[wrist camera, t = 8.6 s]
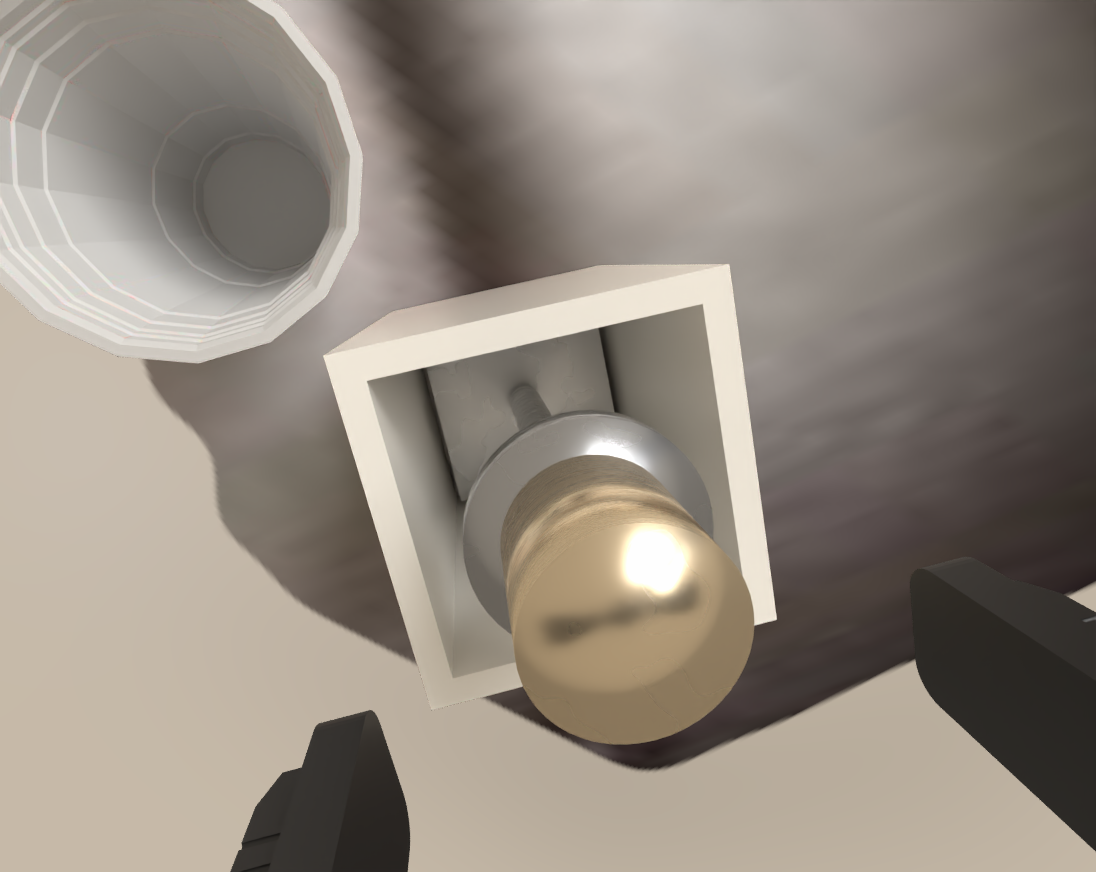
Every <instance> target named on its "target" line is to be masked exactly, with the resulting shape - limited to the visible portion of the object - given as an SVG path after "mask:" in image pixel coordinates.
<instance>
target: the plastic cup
mask: <svg viewBox="0 0 1096 872" xmlns="http://www.w3.org/2000/svg"><path fill="white" fill-rule="evenodd" d="M362 163H363V154H362V151H361V148H360V145H359V142H358V139H357V136H356V133H355V130H354V127H353V124H352V121H351V118H350V115H349V112H348V109H347V106H346V103H345V100H344V97H343V93H342V90H341V87H340V84H339V81H338V78H337V76H336V75H335V74H334V72H333V71H332V70H331V69H330V67H329V66H328V65H327V63H326V62H325V61H324V60H323V58H322V57H321V56H320V55H319V53H318V52H317V51H316V49H315V48H314V47H313V46H312V44H311V43H310V42H309V41H308V39H307V38H306V37H305V35H304V34H303V33H302V32H301V30H300V29H299V28H298V27H297V25H296V24H295V23H294V21H293V20H292V19H291V18H290V16H289V15H288V14H287V12H286V11H285V10H284V9H283V7H281V6H280V5H278V4H277V3H275V2H274V1H272V0H0V284H1V285H2V286H3V287H4V288H5V289H6V290H7V291H8V292H9V293H10V294H11V295H13V296H14V298H16V299H17V300H18V301H19V302H20V303H21V304H22V305H23V306H24V307H25V308H26V309H27V310H28V311H29V312H30V313H31V314H32V315H33V316H35V318H37V319H38V320H39V321H41V322H43V323H45V324H48V325H50V326H52V327H54V328H56V329H58V330H61V331H63V332H65V333H67V334H69V335H72V336H74V337H76V338H78V339H80V340H82V341H85V342H87V343H89V344H91V345H94V346H96V347H98V348H100V349H102V350H104V351H107V352H109V353H111V354H113V355H115V356H119V357H130V358H141V359H152V360H164V361H175V362H187V363H202V362H205V361H209V360H212V359H215V358H219V357H222V356H226V355H229V354H233V353H236V352H239V351H243V350H246V349H250V348H253V347H256V346H260V345H263V344H267V343H270V342H272V341H273V340H274V339H275V338H277V337H278V336H279V335H280V334H282V333H283V332H284V331H285V330H286V329H288V328H289V327H290V326H291V325H292V324H294V323H295V322H296V321H297V320H299V319H300V318H301V317H302V316H303V315H305V314H306V313H307V312H308V311H309V310H311V309H312V308H313V307H314V306H316V305H317V304H318V303H319V302H320V301H322V300H323V299H324V298H325V297H326V296H327V294H328V292H329V290H330V288H331V286H332V284H333V282H334V280H335V278H336V276H337V274H338V272H339V270H340V268H341V266H342V264H343V262H344V260H345V258H346V256H347V254H348V252H349V250H350V248H351V246H352V244H353V242H354V240H355V238H356V236H357V234H358V232H359V216H360V199H361V181H362Z"/></svg>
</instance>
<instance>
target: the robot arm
mask: <svg viewBox="0 0 1096 872" xmlns="http://www.w3.org/2000/svg"><path fill="white" fill-rule="evenodd" d="M910 593H911V607H912V620H913V634H914V648H915V660H916V665H917V669H918V672H919V675H920V678H921V680H922V682H923V684H924V686H925V688H926V689H927V691H928V693H929V694H930V696H931V697H932V698H933V699H934V701H935V702H936V703H937V704H938V705H939V706H940V707H941V708H942V709H943V710H944V711H945V712H946V713H947V714H948V715H949V716H950V717H952V718H953V719H954V720H955V721H956V722H957V723H958V724H959V725H960V726H962V728H964V729H965V730H966V731H967V732H968V733H969V734H970V735H971V736H972V737H973V738H974V739H975V740H976V741H977V742H979V743H980V744H981V745H982V746H983V747H984V748H985V749H986V750H987V751H988V752H989V753H990V754H991V755H992V756H994V757H995V758H996V759H997V760H998V761H999V762H1000V763H1001V764H1002V765H1003V766H1004V767H1005V768H1007V769H1008V770H1009V771H1010V772H1011V773H1012V774H1013V775H1014V776H1015V777H1016V778H1017V779H1018V780H1019V781H1020V782H1022V783H1023V784H1024V785H1025V786H1026V787H1027V788H1028V789H1029V790H1030V791H1031V792H1032V793H1033V794H1034V795H1036V796H1037V797H1038V798H1039V799H1040V800H1041V801H1042V802H1043V803H1044V804H1045V805H1046V806H1047V807H1049V808H1050V809H1051V810H1052V811H1053V812H1054V813H1055V814H1056V815H1057V816H1058V817H1059V818H1060V819H1061V820H1062V821H1064V822H1065V823H1066V824H1067V825H1068V826H1069V827H1070V828H1071V829H1072V830H1073V831H1074V832H1075V833H1076V834H1078V835H1079V836H1080V837H1081V838H1082V839H1083V840H1084V841H1085V842H1086V843H1087V844H1088V845H1089V846H1090V847H1092V848H1093V849H1094V850H1095V851H1096V612H1094V611H1092V610H1090V609H1089V608H1086V607H1085V606H1083V605H1081V604H1079V603H1077V602H1076V601H1074V600H1072V599H1070V598H1069V597H1067V596H1065V595H1063V594H1061V593H1058V592H1054V591H1051V590H1048V589H1044V588H1041V587H1038V586H1035V585H1031V584H1028V583H1025V582H1021V581H1018V580H1017V581H1013V580H1011V579H1009V578H1007V577H1006V576H1004V575H1002V574H1000V573H999V572H997V571H995V570H994V569H992V568H990V567H988V566H987V565H985V564H983V563H981V562H980V561H978V560H976V559H974V558H971V557H963V558H959V559H955V560H951V561H947V562H943V563H939V564H936V565H932V566H928V567H924V568H920V569H917V570H915V571H914V572H913V574H912V576H911V579H910ZM409 851H410V827H409V818H408V812H407V806H406V802H405V798H404V794H403V791H402V788H401V785H400V782H399V779H398V776H397V773H396V770H395V767H394V764H393V761H392V758H391V755H390V752H389V749H388V746H387V743H386V740H385V737H384V734H383V731H382V728H381V725H380V723H379V720H378V718H377V716H376V714H375V713H374V712H373V711H372V710H369V711H365V712H362V713H358V714H354V715H350V716H346V717H342V718H338V719H335V720H331V721H327V722H323V723H319V724H318V725H317V726H316V727H315V729H314V732H313V735H312V738H311V741H310V744H309V747H308V750H307V753H306V756H305V759H304V763H303V765H302V768H298V769H295V770H291V771H287V772H284V773H282V774H281V775H280V777H279V778H278V779H277V780H276V782H275V783H274V784H273V785H272V787H271V788H270V789H269V791H268V792H267V793H266V794H265V796H264V797H263V798H262V799H261V801H260V802H259V803H258V804H257V806H256V807H255V810H254V812H253V815H252V817H251V820H250V823H249V825H248V828H247V831H246V833H245V835H244V838H243V841H242V850H239V851H238V854H237V856H236V859H235V861H234V864H233V866H232V869H231V872H408V862H409Z"/></svg>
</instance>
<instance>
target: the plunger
mask: <svg viewBox="0 0 1096 872" xmlns="http://www.w3.org/2000/svg"><path fill="white" fill-rule="evenodd" d="M426 369H427V373H428V377H429V381H430V384H431V388H432V392H433V396H434V400H435V403H436V407H437V411H438V415H439V419H440V422H441V426H442V430H443V434H444V437H445V441H446V445H447V449H448V453H449V456H450V460H451V464H452V468H453V472H454V475H455V479H456V483H457V487H458V491H459V494H460V498H461V501H464V500H467V504H466V508H465V512H464V522H463V551H464V561H465V566H466V571H467V575H468V578H469V581H470V584H471V586H472V589H473V591H474V593H475V594H476V596H477V598H478V600H479V602H480V603H481V605H482V606H483V607H484V609H485V610H486V612H487V613H488V614H489V615H490V616H491V617H492V618H493V619H494V620H495V622H496V623H497V624H498V625H500V626H501V627H502V628H503V629H505V630H506V631H507V632H508V633H510V634H511V635H512V640H513V648H514V655H515V661H516V667H517V671H518V674H519V677H520V680H521V683H522V685H523V687H524V689H525V691H526V693H527V695H528V697H529V698H530V699H531V701H532V702H533V703H534V705H535V706H536V708H537V709H538V710H539V711H540V712H541V713H542V714H543V715H544V716H545V717H546V718H548V719H549V720H550V721H552V722H553V723H554V724H555V725H557V726H558V727H560V728H562V729H564V730H565V731H567V732H569V733H571V734H573V735H576V736H578V737H581V738H583V739H587V740H591V741H595V742H600V743H607V744H636V743H644V742H649V741H653V740H658V739H661V738H664V737H667V736H670V735H672V734H674V733H677V732H679V731H681V730H683V729H685V728H687V727H689V726H690V725H692V724H694V723H695V722H697V721H699V720H700V719H701V718H703V717H704V716H705V715H707V714H708V713H709V712H710V711H712V710H713V709H714V708H715V707H716V706H717V705H718V704H719V703H720V702H721V701H722V700H723V699H724V697H725V696H726V695H727V694H728V693H729V692H730V690H731V689H732V687H733V686H734V684H735V683H736V681H737V680H738V678H739V677H740V675H741V673H742V671H743V669H744V667H745V665H746V662H747V659H748V656H749V653H750V650H751V646H752V641H753V636H754V609H753V604H752V599H751V595H750V592H749V590H748V587H747V584H746V582H745V580H744V578H743V576H742V575H741V573H740V571H739V569H738V568H737V567H736V565H735V564H734V563H733V562H732V560H731V559H730V558H729V557H728V556H727V555H726V553H725V552H724V551H723V550H722V549H721V548H720V547H719V546H718V545H717V544H716V543H715V541H714V540H713V530H714V524H713V513H712V507H711V503H710V499H709V495H708V493H707V490H706V487H705V485H704V482H703V480H702V479H701V477H700V475H699V473H698V471H697V470H696V468H695V467H694V465H693V464H692V463H691V462H690V460H689V459H688V458H687V456H686V455H685V454H684V453H683V452H682V451H681V450H680V449H679V448H677V447H676V446H675V445H674V444H673V443H672V442H671V441H669V440H668V439H667V438H666V437H665V436H663V435H662V434H661V433H659V432H658V431H657V430H655V429H654V428H652V427H651V426H649V425H647V424H645V423H643V422H641V421H639V420H637V419H634V418H632V417H629V416H626V415H623V414H619V413H615V412H614V407H613V402H612V396H611V391H610V386H609V381H608V375H607V370H606V365H605V360H604V354H603V349H602V344H601V338H600V333H599V328H595V329H591V330H586V331H582V332H578V333H573V334H569V335H564V336H560V337H556V338H551V339H547V340H543V341H538V342H534V343H530V344H525V345H521V346H517V347H512V348H508V349H503V350H499V351H495V352H490V353H486V354H482V355H477V356H473V357H469V358H464V359H460V360H455V361H451V362H447V363H442V364H438V365H434V366H429V367H426Z"/></svg>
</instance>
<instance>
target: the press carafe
mask: <svg viewBox="0 0 1096 872" xmlns="http://www.w3.org/2000/svg"><path fill="white" fill-rule="evenodd" d="M595 328H599V333H600V338H601V344H602V349H603V354H604V360H605V365H606V370H607V375H608V381H609V386H610V391H611V396H612V402H613V407H614V412H615V413H619V414H623V415H626V416H629V417H632V418H634V419H637V420H639V421H641V422H643V423H645V424H647V425H649V426H651V427H652V428H654V429H655V430H657V431H658V432H659V433H661V434H662V435H663V436H665V437H666V438H667V439H668V440H669V441H671V442H672V443H673V444H674V445H675V446H676V447H677V448H679V449H680V450H681V451H682V452H683V453H684V454H685V455H686V456H687V458H688V459H689V460H690V462H691V463H692V464H693V465H694V467H695V468H696V470H697V471H698V473H699V475H700V477H701V479H702V480H703V482H704V485H705V487H706V490H707V493H708V495H709V499H710V503H711V507H712V513H713V524H714V530H713V540H714V541H715V543H716V544H717V545H718V546H719V547H720V548H721V549H722V550H723V551H724V552H725V553H726V555H727V556H728V557H729V558H730V559H731V560H732V562H733V563H734V564H735V565H736V567H737V568H738V569H739V571H740V573H741V575H742V576H743V578H744V580H745V582H746V584H747V587H748V590H749V592H750V595H751V599H752V604H753V609H754V625H758V624H762V623H766V622H769V621H773V620H777V617H776V610H775V602H774V595H773V587H772V580H771V572H770V565H769V557H768V550H767V542H766V535H765V527H764V520H763V513H762V505H761V498H760V490H759V483H758V475H757V468H756V460H755V453H754V445H753V438H752V430H751V423H750V415H749V408H748V401H747V393H746V386H745V378H744V371H743V363H742V356H741V348H740V341H739V333H738V326H737V318H736V311H735V303H734V296H733V288H732V281H731V274H730V266H729V264H684V265H598V266H594V267H589V268H585V269H580V270H576V271H572V272H567V273H563V274H558V275H554V276H549V277H545V278H540V279H536V280H531V281H527V282H522V283H518V284H513V285H509V286H504V287H500V288H495V289H491V290H486V291H482V292H477V293H473V294H468V295H464V296H459V297H455V298H450V299H446V300H441V301H437V302H432V303H428V304H423V305H419V306H414V307H410V308H405V309H401V310H397V311H392V312H390V313H389V314H387V315H386V316H384V317H383V318H381V319H380V320H378V321H376V322H375V323H373V324H372V325H370V326H369V327H367V328H366V329H364V330H362V331H361V332H359V333H358V334H356V335H355V336H353V337H352V338H350V339H348V340H347V341H345V342H344V343H342V344H341V345H339V346H338V347H336V348H335V349H333V350H331V351H330V352H328V353H327V354H325V355H324V356H323V357H324V360H325V363H326V367H327V370H328V373H329V376H330V380H331V383H332V386H333V390H334V393H335V396H336V399H337V403H338V406H339V409H340V413H341V416H342V419H343V422H344V426H345V429H346V432H347V436H348V439H349V442H350V445H351V449H352V452H353V455H354V459H355V462H356V465H357V468H358V472H359V475H360V478H361V482H362V485H363V488H364V491H365V495H366V498H367V501H368V505H369V508H370V511H371V514H372V518H373V521H374V524H375V528H376V531H377V534H378V537H379V541H380V544H381V547H382V551H383V554H384V557H385V560H386V564H387V567H388V570H389V574H390V577H391V580H392V583H393V587H394V590H395V593H396V597H397V600H398V603H399V607H400V610H401V613H402V616H403V620H404V623H405V626H406V630H407V633H408V636H409V639H410V643H411V646H412V649H413V653H414V656H415V659H416V662H417V666H418V669H419V672H420V676H421V679H422V682H423V685H424V688H425V692H426V695H427V699H428V701H429V705H430V708H431V710H436V709H439V708H443V707H447V706H451V705H455V704H459V703H462V702H466V701H470V700H474V699H478V698H481V697H485V696H489V695H493V694H496V693H500V692H504V691H508V690H512V689H515V688H519V687H523V685H522V683H521V680H520V677H519V674H518V671H517V667H516V661H515V655H514V648H513V640H512V635H511V634H510V633H508V632H507V631H506V630H505V629H503V628H502V627H501V626H500V625H498V624H497V623H496V622H495V620H494V619H493V618H492V617H491V616H490V615H489V614H488V613H487V612H486V610H485V609H484V607H483V606H482V605H481V603H480V602H479V600H478V598H477V596H476V594H475V593H474V591H473V589H472V586H471V584H470V581H469V578H468V575H467V571H466V566H465V561H464V551H463V522H464V512H465V508H466V504H467V500H464V501H461V498H460V494H459V491H458V487H457V483H456V479H455V475H454V472H453V468H452V464H451V460H450V456H449V453H448V449H447V445H446V441H445V437H444V434H443V430H442V426H441V422H440V419H439V415H438V411H437V407H436V403H435V400H434V396H433V392H432V388H431V384H430V381H429V377H428V373H427V369H426V367H429V366H434V365H438V364H442V363H447V362H451V361H455V360H460V359H464V358H469V357H473V356H477V355H482V354H486V353H490V352H495V351H499V350H503V349H508V348H512V347H517V346H521V345H525V344H530V343H534V342H538V341H543V340H547V339H551V338H556V337H560V336H564V335H569V334H573V333H578V332H582V331H586V330H591V329H595Z"/></svg>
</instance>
